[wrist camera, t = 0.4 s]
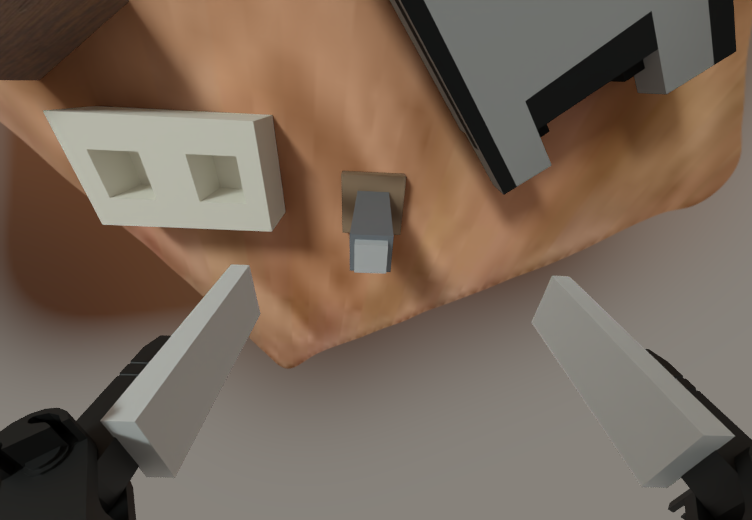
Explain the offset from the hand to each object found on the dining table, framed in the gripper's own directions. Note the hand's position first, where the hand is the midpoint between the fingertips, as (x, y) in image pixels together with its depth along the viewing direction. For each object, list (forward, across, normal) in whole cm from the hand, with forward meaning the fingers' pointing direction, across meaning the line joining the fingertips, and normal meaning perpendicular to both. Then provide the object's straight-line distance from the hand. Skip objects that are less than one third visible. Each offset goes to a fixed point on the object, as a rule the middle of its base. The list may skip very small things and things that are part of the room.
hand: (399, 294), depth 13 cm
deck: (+27, -1, -5) cm, 27 cm away
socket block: (+26, -23, -1) cm, 35 cm away
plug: (+25, -1, -5) cm, 26 cm away
